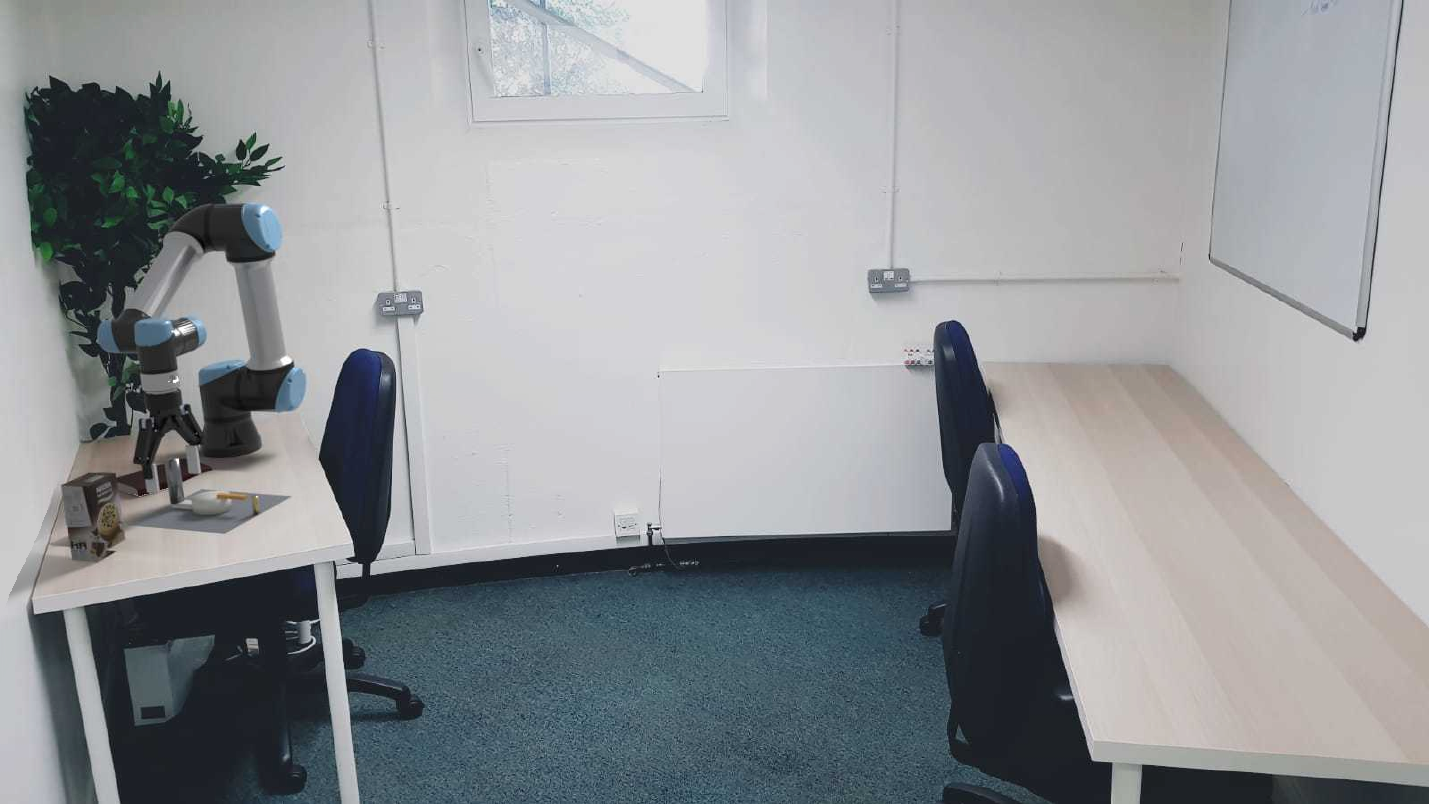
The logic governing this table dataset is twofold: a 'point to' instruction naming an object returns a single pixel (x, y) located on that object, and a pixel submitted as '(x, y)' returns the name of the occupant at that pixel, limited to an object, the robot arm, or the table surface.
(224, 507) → the white grey handled piece
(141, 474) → the book
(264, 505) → the dial base plate
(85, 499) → the cookie box
